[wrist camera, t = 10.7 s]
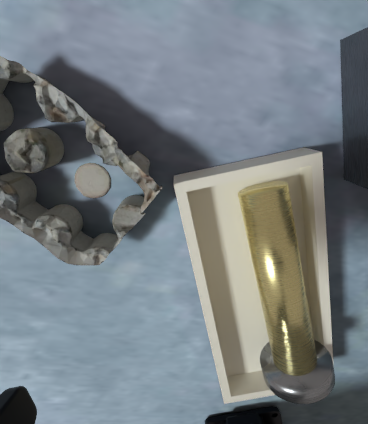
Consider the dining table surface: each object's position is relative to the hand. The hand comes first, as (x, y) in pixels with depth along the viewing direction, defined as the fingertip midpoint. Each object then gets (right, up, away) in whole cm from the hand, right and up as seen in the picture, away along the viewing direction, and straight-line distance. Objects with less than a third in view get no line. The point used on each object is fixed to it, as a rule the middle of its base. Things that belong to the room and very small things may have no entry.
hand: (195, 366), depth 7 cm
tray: (+5, -1, +13) cm, 14 cm away
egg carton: (-7, +7, +11) cm, 15 cm away
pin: (+5, -1, +12) cm, 13 cm away
